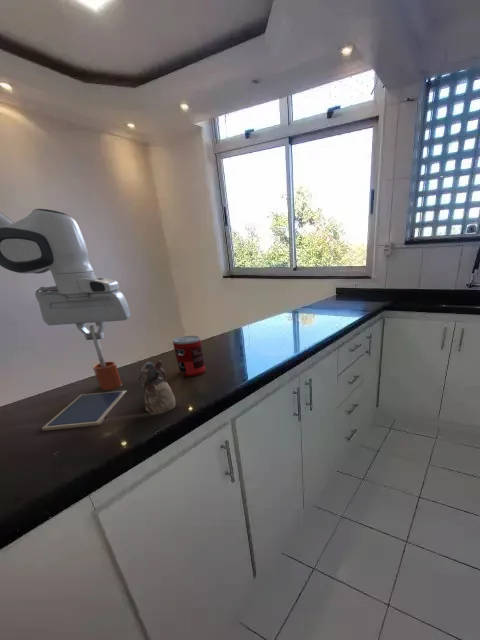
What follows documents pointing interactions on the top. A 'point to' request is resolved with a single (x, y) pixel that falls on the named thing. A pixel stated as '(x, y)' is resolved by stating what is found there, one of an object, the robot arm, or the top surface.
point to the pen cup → (107, 376)
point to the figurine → (156, 389)
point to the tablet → (85, 411)
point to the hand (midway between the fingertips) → (95, 339)
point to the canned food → (189, 355)
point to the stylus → (97, 347)
